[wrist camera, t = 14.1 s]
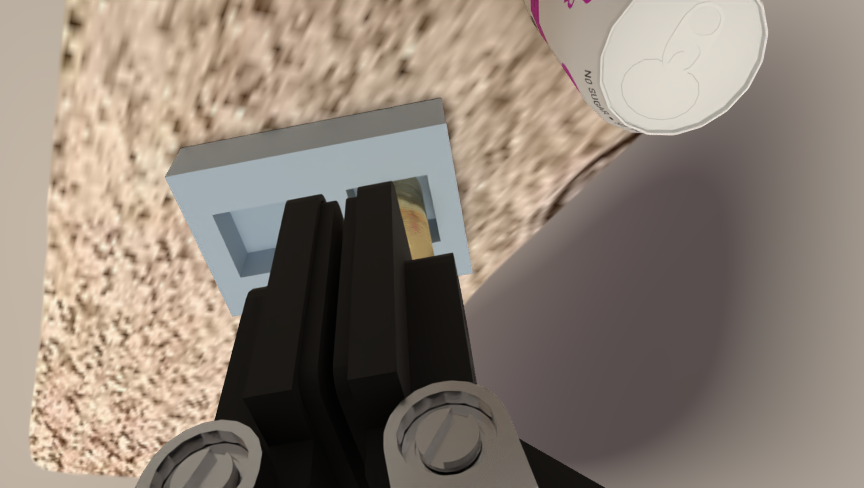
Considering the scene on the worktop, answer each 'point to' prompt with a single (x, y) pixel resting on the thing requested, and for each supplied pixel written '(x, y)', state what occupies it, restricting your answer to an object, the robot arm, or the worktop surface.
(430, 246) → the yellow cylinder
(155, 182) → the worktop surface
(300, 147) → the block
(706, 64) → the supplement can
